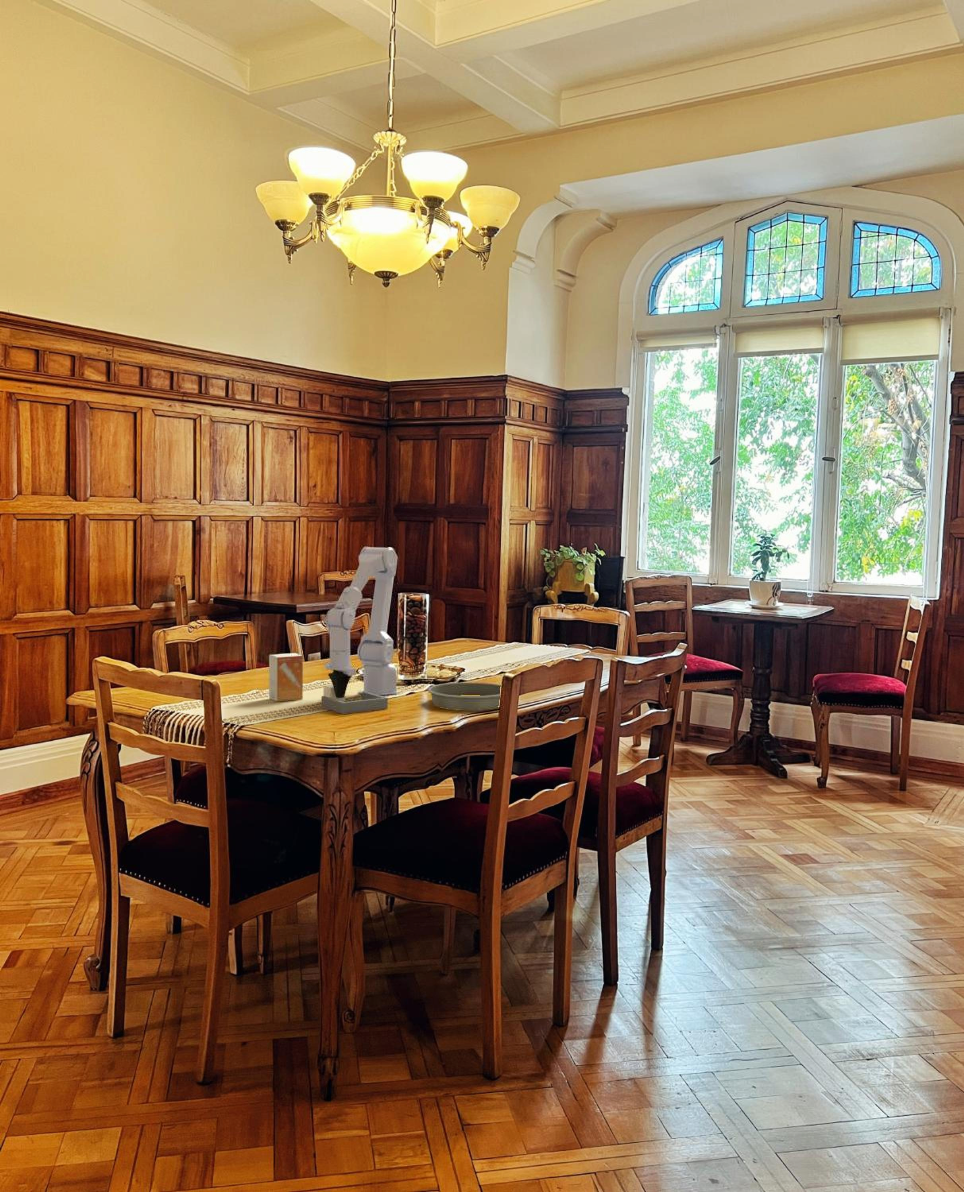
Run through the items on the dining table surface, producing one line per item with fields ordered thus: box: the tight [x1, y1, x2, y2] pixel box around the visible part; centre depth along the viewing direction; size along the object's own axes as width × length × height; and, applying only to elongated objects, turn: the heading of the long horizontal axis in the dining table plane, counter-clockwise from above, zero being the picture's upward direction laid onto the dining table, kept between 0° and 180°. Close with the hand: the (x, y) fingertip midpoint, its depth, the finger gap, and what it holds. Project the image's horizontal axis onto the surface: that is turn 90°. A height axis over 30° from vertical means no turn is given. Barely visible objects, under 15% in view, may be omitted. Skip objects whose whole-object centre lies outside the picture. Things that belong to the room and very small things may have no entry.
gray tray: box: [321, 692, 389, 715], centre depth 281 cm, size 14×12×3 cm
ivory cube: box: [323, 684, 346, 702], centre depth 291 cm, size 4×4×4 cm
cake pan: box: [427, 681, 502, 711], centre depth 290 cm, size 25×25×4 cm
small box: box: [268, 652, 304, 702], centre depth 294 cm, size 8×6×13 cm
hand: (340, 697), depth 288 cm, fingers closed
